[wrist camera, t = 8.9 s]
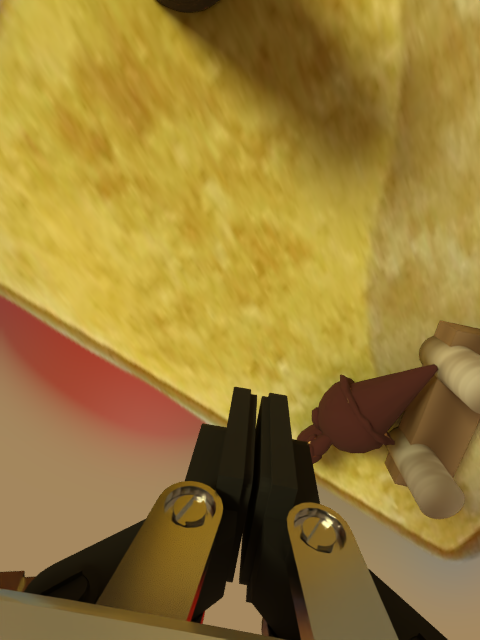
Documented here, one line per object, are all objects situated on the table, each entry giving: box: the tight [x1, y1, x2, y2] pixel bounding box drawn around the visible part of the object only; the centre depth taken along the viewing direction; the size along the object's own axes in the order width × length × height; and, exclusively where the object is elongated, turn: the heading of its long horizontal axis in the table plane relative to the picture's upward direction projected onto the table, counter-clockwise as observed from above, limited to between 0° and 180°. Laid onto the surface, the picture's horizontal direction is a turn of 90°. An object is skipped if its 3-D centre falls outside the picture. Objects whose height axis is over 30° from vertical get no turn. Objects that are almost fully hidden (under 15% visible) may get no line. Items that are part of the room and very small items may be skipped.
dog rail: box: [385, 321, 480, 519], centre depth 31 cm, size 6×16×8 cm, turn 168°
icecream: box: [297, 364, 438, 464], centre depth 32 cm, size 7×7×15 cm
